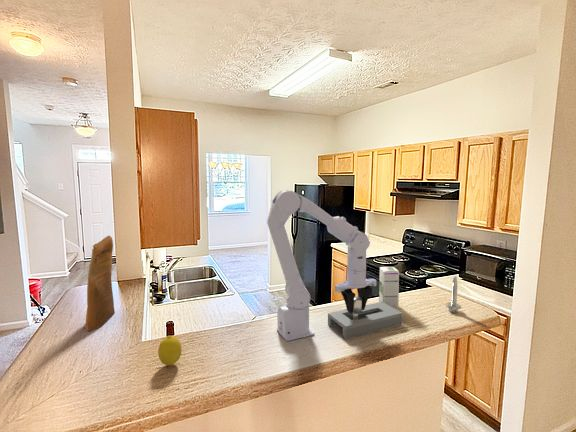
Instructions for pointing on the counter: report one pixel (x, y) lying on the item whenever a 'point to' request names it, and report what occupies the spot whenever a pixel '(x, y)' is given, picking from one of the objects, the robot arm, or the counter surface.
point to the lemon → (169, 350)
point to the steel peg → (357, 308)
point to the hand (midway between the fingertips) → (355, 310)
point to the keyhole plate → (366, 320)
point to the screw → (454, 298)
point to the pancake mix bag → (100, 285)
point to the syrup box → (389, 286)
